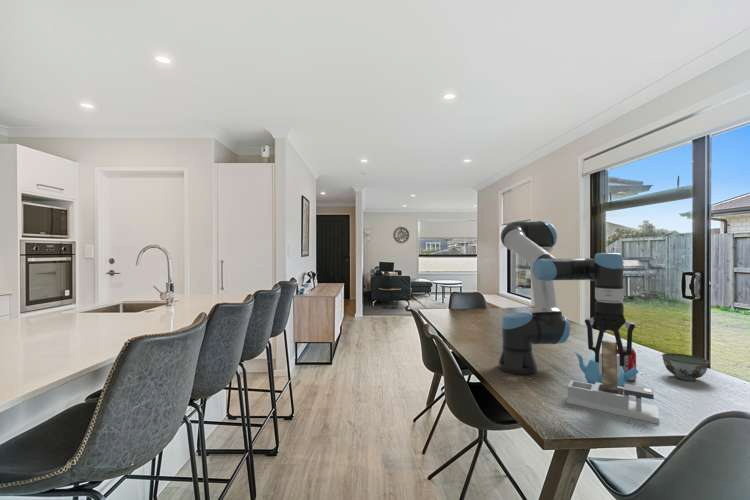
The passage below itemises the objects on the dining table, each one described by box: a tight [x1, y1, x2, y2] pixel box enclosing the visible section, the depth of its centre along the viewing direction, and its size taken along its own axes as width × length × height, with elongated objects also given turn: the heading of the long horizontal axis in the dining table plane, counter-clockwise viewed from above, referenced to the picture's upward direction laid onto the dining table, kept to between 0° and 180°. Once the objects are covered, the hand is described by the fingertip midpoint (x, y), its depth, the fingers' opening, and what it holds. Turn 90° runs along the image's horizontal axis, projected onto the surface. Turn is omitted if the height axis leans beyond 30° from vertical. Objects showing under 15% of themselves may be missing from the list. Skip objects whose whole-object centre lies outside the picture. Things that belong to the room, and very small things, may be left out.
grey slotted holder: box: [566, 379, 660, 424], centre depth 109 cm, size 23×10×6 cm, turn 52°
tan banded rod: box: [601, 340, 618, 394], centre depth 109 cm, size 4×4×16 cm
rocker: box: [623, 383, 655, 400], centre depth 105 cm, size 7×6×2 cm
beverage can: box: [617, 345, 637, 382], centre depth 133 cm, size 6×6×12 cm
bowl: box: [661, 352, 710, 382], centre depth 133 cm, size 14×13×8 cm
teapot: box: [573, 352, 640, 387], centre depth 125 cm, size 15×14×11 cm
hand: (609, 374), depth 109 cm, fingers closed on tan banded rod, 4 cm apart
